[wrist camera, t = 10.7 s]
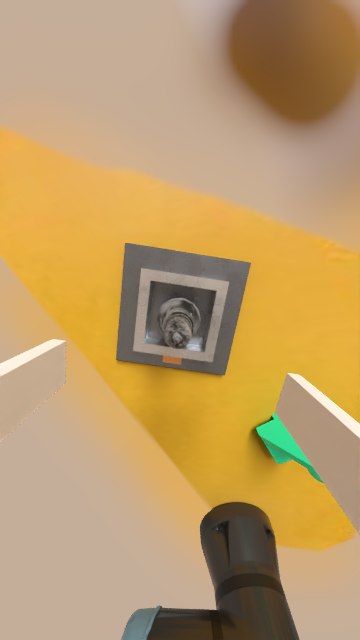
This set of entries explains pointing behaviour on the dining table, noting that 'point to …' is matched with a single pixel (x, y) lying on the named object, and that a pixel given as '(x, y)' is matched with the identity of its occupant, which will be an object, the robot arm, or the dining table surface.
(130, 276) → the plate
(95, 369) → the dining table surface
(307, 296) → the dining table surface
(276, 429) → the camera mount
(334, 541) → the dining table surface
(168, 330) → the gray metallic stepped cylinder
